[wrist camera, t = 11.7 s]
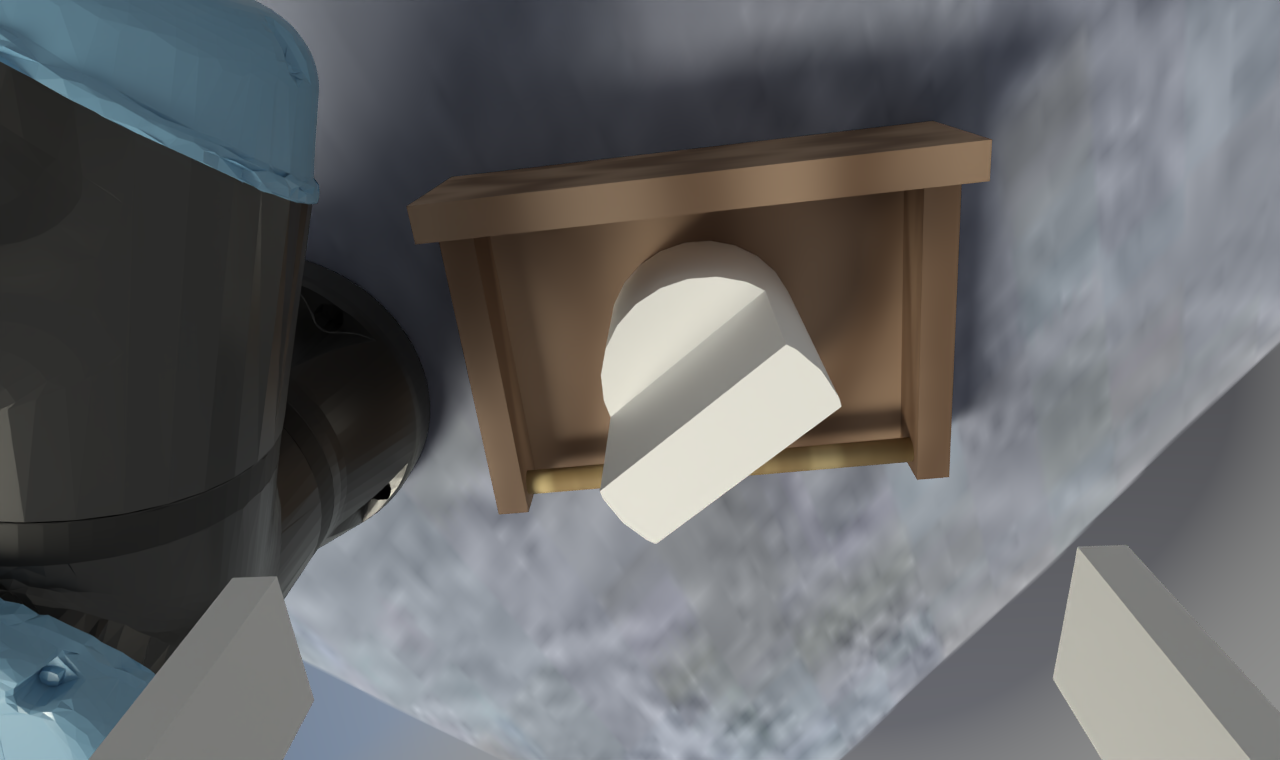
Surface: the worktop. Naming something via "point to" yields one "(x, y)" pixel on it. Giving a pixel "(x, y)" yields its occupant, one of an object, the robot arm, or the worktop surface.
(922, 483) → the worktop surface
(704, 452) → the cylinder with rectangular tab
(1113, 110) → the worktop surface
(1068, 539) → the worktop surface
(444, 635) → the worktop surface
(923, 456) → the caddy
